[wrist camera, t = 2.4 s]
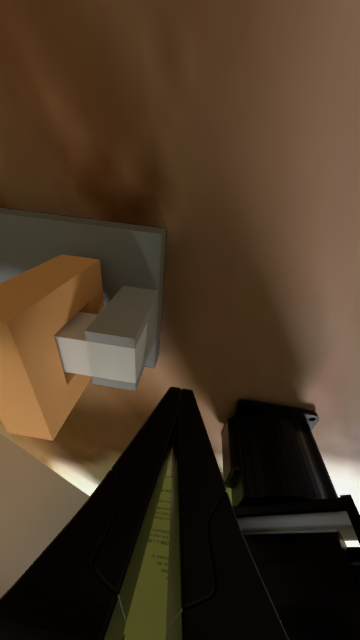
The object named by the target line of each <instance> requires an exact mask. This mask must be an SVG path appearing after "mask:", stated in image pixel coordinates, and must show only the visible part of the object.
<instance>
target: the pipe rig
mask: <svg viewBox="0 0 360 640" xmlns="http://www.w3.org/2000/svg"><path fill="white" fill-rule="evenodd" d="M166 230H167V229H165V228H157V227H149V226H141V225H133V224H125V223H118V222H110V221H102V220H94V219H86V218H78V217H70V216H62V215H55V214H47V213H39V212H31V211H23V210H15V209H7V208H0V283H2V282H4V281H7V280H9V279H11V278H13V277H15V276H17V275H19V274H21V273H23V272H26V271H28V270H30V269H32V268H34V267H36V266H38V265H40V264H42V263H45V262H47V261H49V260H51V259H53V258H55V257H57V256H59V255H61V254H63V255H70V256H78V257H85V258H92V259H100V268H101V278H102V288H103V298H104V309H103V310H102V311H101V312H100V313H99V315H97V314H90V313H84V312H78V313H77V314H76V315H74V316H73V317H72V318H71V319H70V320H69V321H68V322H67V323H66V324H65V325H64V326H63V327H62V328H61V329H60V330H59V331H58V332H57V333H56V334H55V335H54V337H55V341H56V345H57V349H58V353H59V356H60V360H61V364H62V368H63V372H69V373H75V374H81V375H87V376H92V380H93V384H97V385H103V386H109V387H115V388H121V389H127V390H133V391H136V389H137V386H138V383H139V380H140V378H141V375H142V372H143V369H144V367H148V368H155V366H156V362H157V359H158V356H159V345H160V329H161V312H162V296H163V279H164V263H165V246H166Z"/></svg>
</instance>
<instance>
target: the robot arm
mask: <svg viewBox="0 0 360 640" xmlns="http://www.w3.org/2000/svg"><path fill="white" fill-rule="evenodd" d="M179 401H180V402H179ZM178 408H179V409H178ZM177 415H178V416H177ZM318 421H319V417H318V415H317V413H316V412H314V411H309V410H303V409H297V408H290V407H284V406H278V405H272V404H266V403H260V402H254V401H248V400H239V401H238V402H237V403H236V406H235V409H234V411H233V414H232V417H231V418H229V419H228V420H227V422H226V425H225V428H224V431H223V433H222V454H223V478H224V481H223V478H222V475H221V472H220V469H219V467H218V464H217V461H216V458H215V455H214V452H213V449H212V446H211V443H210V440H209V437H208V434H207V431H206V428H205V425H204V423H203V420H202V417H201V414H200V411H199V408H198V405H197V402H196V399H195V396H194V393H193V391H192V390H189V389H182V390H181V389H180V388H177V387H170V388H169V389H168V391H167V392H166V394H165V395H164V396H163V398H162V399H161V400H160V402H159V403H158V405H157V406H156V407H155V409H154V410H153V412H152V413H151V414H150V416H149V417H148V418H147V420H146V421H145V423H144V424H143V425H142V427H141V428H140V429H139V431H138V432H137V434H136V435H135V436H134V438H133V439H132V441H131V442H130V443H129V445H128V446H127V447H126V449H125V450H124V452H123V453H122V454H121V456H120V457H119V458H118V460H117V461H116V463H115V464H114V465H113V467H112V470H110V471H109V472H108V473H107V475H106V476H105V478H104V479H103V480H102V482H101V483H100V484H99V486H98V487H97V488H96V490H95V491H94V492H93V494H92V495H91V496H90V498H89V499H88V500H87V501H86V502H85V504H84V505H83V506H82V507H81V508H80V510H79V511H78V512H77V513H76V515H75V516H74V517H73V518H72V519H71V520H70V522H69V523H68V524H67V525H66V526H65V527H64V528H63V529H62V531H61V532H60V533H59V534H58V535H57V536H56V538H55V539H54V540H53V541H52V542H51V543H50V544H49V545H48V547H47V548H46V549H45V550H44V551H43V552H42V553H41V554H40V556H39V557H38V558H37V559H36V560H35V561H34V562H33V564H32V565H31V566H30V567H29V568H28V569H27V570H26V571H25V573H24V574H23V575H22V576H21V577H20V578H19V579H18V580H17V581H16V583H15V584H14V585H13V586H12V587H11V588H10V589H9V590H8V591H7V592H6V593H5V594H4V595H3V597H1V598H0V640H122V637H123V633H124V629H125V625H126V623H125V622H126V621H127V618H128V614H129V610H130V606H131V603H132V599H133V595H134V591H135V588H136V584H137V580H138V576H139V573H140V569H141V565H142V561H143V558H144V554H145V550H146V546H147V543H148V539H149V535H150V531H151V528H152V524H153V520H154V516H155V513H156V509H157V505H158V501H159V497H160V494H161V490H162V486H163V482H164V479H165V475H166V471H167V467H168V464H169V460H170V456H171V452H172V447H173V452H172V477H171V505H170V532H169V560H168V588H167V615H166V631H167V632H166V640H360V547H347V546H346V544H345V542H344V541H348V540H358V541H359V543H360V515H359V513H358V511H357V508H356V506H355V504H354V502H353V499H352V497H351V495H340V496H341V497H340V498H338V496H337V494H336V491H335V489H334V486H333V484H332V481H331V479H330V476H329V474H328V471H327V469H326V466H325V464H324V462H323V459H322V457H321V454H320V452H319V449H318V447H317V444H316V442H315V439H314V437H313V434H312V432H311V430H312V429H313V428H314V426H315V425H316V423H317V422H318ZM175 428H176V429H175ZM174 435H175V436H174ZM173 441H174V443H173ZM225 486H226V487H225ZM226 488H231V493H232V504H231V501H230V498H229V495H228V493H227V492H225V491H226Z"/></svg>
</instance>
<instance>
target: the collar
mask: <svg viewBox="0 0 360 640" xmlns="http://www.w3.org/2000/svg"><path fill="white" fill-rule="evenodd" d="M103 309H104V298H103V288H102V278H101V268H100V259H92V258H85V257H78V256H70V255H63V254H61V255H59V256H57V257H55V258H53V259H51V260H49V261H47V262H45V263H42V264H40V265H38V266H36V267H34V268H32V269H30V270H28V271H26V272H23V273H21V274H19V275H17V276H15V277H13V278H11V279H9V280H7V281H4V282H2V283H0V419H1V421H2V423H3V425H4V426H5V428H6V430H7V432H8V433H13V434H18V435H24V436H29V437H35V438H40V439H46V440H51V441H53V440H54V438H55V437H56V435H57V433H58V432H59V430H60V428H61V427H62V425H63V424H64V422H65V420H66V419H67V417H68V415H69V414H70V412H71V411H72V409H73V407H74V406H75V404H76V402H77V401H78V399H79V398H80V396H81V394H82V393H83V391H84V389H85V388H86V386H87V385H88V383H89V381H90V380H91V378H92V376H87V375H81V374H75V373H69V372H63V368H62V364H61V360H60V356H59V353H58V349H57V345H56V341H55V337H54V335H55V334H56V333H57V332H58V331H59V330H60V329H61V328H62V327H63V326H64V325H65V324H66V323H67V322H68V321H69V320H70V319H71V318H72V317H73V316H74V315H76V314H77V313H78V312H84V313H90V314H97V315H99V313H100V312H101V311H102V310H103Z"/></svg>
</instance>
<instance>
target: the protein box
mask: <svg viewBox="0 0 360 640" xmlns="http://www.w3.org/2000/svg"><path fill="white" fill-rule="evenodd" d="M225 487H226V486H225ZM225 492H227V493H228V495H229V498H230V501H231V504H232V493H231V488H226V491H225ZM170 505H171V477H165V479H164V482H163V486H162V490H161V494H160V497H159V501H158V505H157V509H156V513H155V516H154V520H153V524H152V528H151V531H150V535H149V539H148V543H147V546H146V550H145V554H144V558H143V561H142V565H141V569H140V573H139V576H138V580H137V584H136V588H135V591H134V595H133V599H132V603H131V606H130V610H129V614H128V618H127V621H126V622H125V623H126V625H125V629H124V633H123V637H122V640H166V632H167V631H166V615H167V588H168V560H169V532H170Z"/></svg>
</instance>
